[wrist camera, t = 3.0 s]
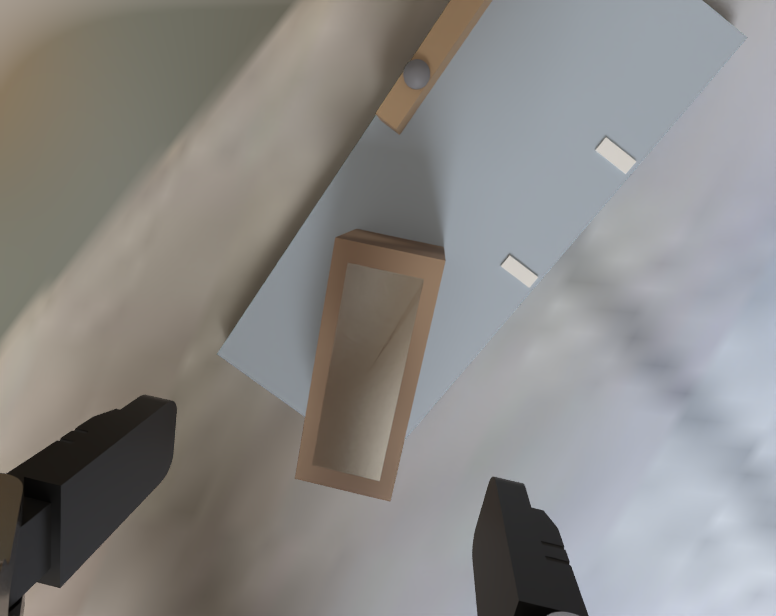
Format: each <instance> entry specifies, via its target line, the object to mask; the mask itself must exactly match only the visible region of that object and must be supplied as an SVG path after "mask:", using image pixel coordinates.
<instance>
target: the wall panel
mask: <svg viewBox="0 0 776 616" xmlns="http://www.w3.org/2000/svg"><path fill="white" fill-rule="evenodd" d="M747 38H748V37H746V36H745V35H744V34H743V33H741V32H740V31H739V30H738V29H737V28H735V27H734V26H733V25H732V24H731V23H729V22H728V21H727V20H726V19H725V18H723V17H722V16H721V15H720V14H718V13H717V12H716V11H715V10H714V9H712V8H711V7H710V6H709V5H708V4H706V3H705V2H704V1H703V0H450V2H449V3H448V5H447V6H446V8H445V9H444V11H443V12H442V14H441V15H440V17H439V18H438V20H437V21H436V23H435V24H434V26H433V27H432V29H431V30H430V32H429V33H428V35H427V36H426V38H425V39H424V41H423V42H422V44H421V45H420V47H419V48H418V50H417V51H416V53H415V54H414V56H413V57H412V59H411V60H410V62H408V63H407V65H406V66H405V68H404V71H403V73H402V74H401V76H400V77H399V79H398V80H397V82H396V83H395V85H394V86H393V88H392V89H391V91H390V92H389V94H388V95H387V97H386V98H385V100H384V101H383V103H382V104H381V106H380V107H379V109H378V110H377V112H376V113H375V114H376V116H375V117H374V119H373V120H372V122H371V123H370V125H369V126H368V128H367V129H366V131H365V132H364V134H363V135H362V137H361V138H360V140H359V141H358V143H357V144H356V146H355V147H354V149H353V150H352V152H351V153H350V155H349V156H348V158H347V159H346V161H345V162H344V164H343V165H342V167H341V168H340V170H339V171H338V173H337V174H336V176H335V177H334V179H333V180H332V182H331V183H330V185H329V186H328V188H327V189H326V191H325V192H324V194H323V195H322V197H321V198H320V200H319V201H318V203H317V204H316V206H315V207H314V209H313V210H312V212H311V213H310V215H309V216H308V218H307V219H306V221H305V222H304V224H303V225H302V227H301V228H300V230H299V231H298V233H297V234H296V236H295V237H294V239H293V240H292V242H291V243H290V245H289V246H288V248H287V249H286V251H285V252H284V254H283V255H282V257H281V258H280V260H279V261H278V263H277V264H276V266H275V267H274V269H273V270H272V272H271V273H270V275H269V276H268V278H267V279H266V281H265V282H264V284H263V285H262V287H261V288H260V290H259V291H258V293H257V294H256V296H255V297H254V299H253V300H252V302H251V303H250V305H249V306H248V308H247V309H246V311H245V312H244V314H243V315H242V317H241V318H240V320H239V321H238V323H237V324H236V326H235V327H234V329H233V330H232V332H231V333H230V335H229V337H228V338H227V340H226V341H225V343H224V344H223V346H222V347H221V349H220V350H219V352H218V353H217V355H219V356H220V357H222V358H223V359H224V360H226V361H227V362H229V363H230V364H231V365H233V366H234V367H236V368H237V369H238V370H240V371H241V372H243V373H244V374H245V375H247V376H248V377H250V378H251V379H252V380H254V381H255V382H257V383H258V384H259V385H261V386H262V387H264V388H265V389H266V390H268V391H269V392H271V393H272V394H273V395H275V396H276V397H278V398H279V399H280V400H282V401H283V402H285V403H286V404H287V405H289V406H290V407H292V408H293V409H294V410H296V411H297V412H299V413H300V414H301V415H303V416H304V417H305V415H306V409H307V403H308V397H309V391H310V385H311V379H312V373H313V367H314V361H315V355H316V349H317V343H318V337H319V331H320V325H321V319H322V313H323V307H324V301H325V295H326V289H327V283H328V277H329V271H330V265H331V259H332V253H333V247H334V241H335V237H337V236H340V235H342V234H345V233H347V232H349V231H352V230H354V229H361V230H366V231H370V232H375V233H380V234H385V235H389V236H394V237H399V238H404V239H409V240H413V241H418V242H423V243H428V244H432V245H437V246H442V247H444V251H445V259H446V261H445V266H444V270H443V274H442V279H441V283H440V287H439V292H438V296H437V301H436V305H435V309H434V314H433V318H432V322H431V327H430V331H429V335H428V340H427V344H426V348H425V353H424V357H423V361H422V366H421V370H420V374H419V379H418V383H417V388H416V392H415V396H414V401H413V405H412V409H411V414H410V418H409V422H408V427H407V431H406V435H405V439H406V438H407V437H408V436H409V434H410V433H411V432H412V431H413V430H414V429H415V427H416V426H417V425H418V424H419V423H420V422H421V420H422V419H423V418H424V417H425V416H426V415H427V413H428V412H429V411H430V410H431V409H432V407H433V406H434V405H435V404H436V403H437V402H438V400H439V399H440V398H441V397H442V396H443V395H444V393H445V392H446V391H447V390H448V389H449V388H450V386H451V385H452V384H453V383H454V382H455V380H456V379H457V378H458V377H459V376H460V375H461V373H462V372H463V371H464V370H465V369H466V368H467V366H468V365H469V364H470V363H471V362H472V361H473V359H474V358H475V357H476V356H477V355H478V353H479V352H480V351H481V350H482V349H483V348H484V346H485V345H486V344H487V343H488V342H489V341H490V339H491V338H492V337H493V336H494V335H495V333H496V332H497V331H498V330H499V329H500V328H501V326H502V325H503V324H504V323H505V322H506V321H507V319H508V318H509V317H510V316H511V315H512V314H513V312H514V311H515V310H516V309H517V308H518V306H519V305H520V304H521V303H522V302H523V301H524V299H525V298H526V297H527V296H528V295H529V294H530V292H531V291H532V290H533V289H534V288H535V287H536V285H537V284H538V283H539V282H540V281H541V279H542V278H543V277H544V276H545V275H546V274H547V272H548V271H549V270H550V269H551V268H552V267H553V265H554V264H555V263H556V262H557V261H558V260H559V258H560V257H561V256H562V255H563V254H564V252H565V251H566V250H567V249H568V248H569V247H570V245H571V244H572V243H573V242H574V241H575V240H576V238H577V237H578V236H579V235H580V234H581V233H582V231H583V230H584V229H585V228H586V227H587V225H588V224H589V223H590V222H591V221H592V220H593V218H594V217H595V216H596V215H597V214H598V213H599V211H600V210H601V209H602V208H603V207H604V206H605V204H606V203H607V202H608V201H609V200H610V198H611V197H612V196H613V195H614V194H615V193H616V191H617V190H618V189H619V188H620V187H621V186H622V184H623V183H624V182H625V181H626V180H627V179H628V177H629V176H630V175H631V174H632V173H633V171H634V170H635V169H636V168H637V167H638V166H639V164H640V163H641V162H642V161H643V160H644V159H645V157H646V156H647V155H648V154H649V153H650V152H651V150H652V149H653V148H654V147H655V146H656V144H657V143H658V142H659V141H660V140H661V139H662V137H663V136H664V135H665V134H666V133H667V132H668V130H669V129H670V128H671V127H672V126H673V125H674V123H675V122H676V121H677V120H678V119H679V117H680V116H681V115H682V114H683V113H684V112H685V110H686V109H687V108H688V107H689V106H690V105H691V103H692V102H693V101H694V100H695V99H696V98H697V96H698V95H699V94H700V93H701V92H702V90H703V89H704V88H705V87H706V86H707V85H708V83H709V82H710V81H711V80H712V79H713V78H714V76H715V75H716V74H717V73H718V72H719V71H720V69H721V68H722V67H723V66H724V65H725V63H726V62H727V61H728V60H729V59H730V58H731V56H732V55H733V54H734V53H735V52H736V51H737V49H738V48H739V47H740V46H741V45H742V44H743V42H744V41H745V40H746V39H747Z"/></svg>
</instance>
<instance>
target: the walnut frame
mask: <svg viewBox="0 0 776 616" xmlns="http://www.w3.org/2000/svg"><path fill="white" fill-rule="evenodd" d="M445 261H446V259H445V251H444V247H442V246H437V245H432V244H428V243H423V242H418V241H413V240H409V239H404V238H399V237H394V236H389V235H385V234H380V233H375V232H370V231H366V230H361V229H354V230H352V231H349V232H347V233H345V234H342V235H340V236H337V237H335V241H334V247H333V253H332V259H331V265H330V271H329V277H328V283H327V289H326V295H325V301H324V307H323V313H322V319H321V325H320V331H319V337H318V343H317V349H316V355H315V361H314V367H313V373H312V379H311V385H310V391H309V397H308V403H307V409H306V415H305V421H304V427H303V433H302V439H301V445H300V451H299V457H298V463H297V469H296V475H295V479H299V480H303V481H307V482H311V483H315V484H319V485H324V486H328V487H332V488H336V489H340V490H344V491H349V492H353V493H357V494H361V495H365V496H369V497H374V498H378V499H382V500H386V501H391V496H392V492H393V488H394V483H395V479H396V475H397V470H398V466H399V462H400V457H401V453H402V448H403V444H404V440H405V435H406V431H407V427H408V422H409V418H410V414H411V409H412V405H413V401H414V396H415V392H416V388H417V383H418V379H419V374H420V370H421V366H422V361H423V357H424V353H425V348H426V344H427V340H428V335H429V331H430V327H431V322H432V318H433V314H434V309H435V305H436V301H437V296H438V292H439V287H440V283H441V279H442V274H443V270H444V266H445Z"/></svg>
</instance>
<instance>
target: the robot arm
mask: <svg viewBox="0 0 776 616" xmlns="http://www.w3.org/2000/svg"><path fill="white" fill-rule="evenodd" d="M176 414H177V407H176V404H175V402H174V401H170V400H166V399H162V398H157V397H153V396H149V395H141V396H140V397H138V398H137V399H135V400H134V401H132V402H131V403H130V404H128V405H127V406H125V407H124V408H122V409H121V410H118V409H114V410H111V411H109V412H106V413H103V414H100V415H97V416H94V417H92V418H91V419H89V420H88V421H86V422H84V423H83V424H81V425H80V426H78V427H77V428H75V431H71V432H69V433H68V434H66V435H65V436H63V437H62V438H61V439H60V441H56V442H54V443H52V444H51V445H49V446H48V447H46V448H45V449H43V450H42V451H40V452H39V453H37V454H36V455H34V456H33V457H31V458H30V459H28V460H27V461H25V462H24V463H22V464H20V465H19V466H17V467H16V468H14V469H13V470H11V471H10V472H8V473H7V474H4V473H0V616H23V613H24V606H25V593H26V592H27V591H28V590H29V589H30V588H31V587H32V586H33V585H34V584H35V583H36V582H38V583H42V584H46V585H50V586H54V587H58V588H61V587H62V586H63V584H64V583H65V582H66V581H67V580H68V579H69V578H70V577H71V576H72V575H73V574H74V573H75V572H76V571H77V570H78V569H79V568H80V567H81V566H82V564H83V563H84V562H85V561H86V560H87V559H88V558H89V557H90V556H91V555H92V554H93V553H94V552H95V551H96V550H97V549H98V548H99V547H100V546H101V545H102V543H103V542H104V541H105V540H106V539H107V538H108V537H109V536H110V535H111V534H112V533H113V532H114V531H115V530H116V529H117V528H118V527H119V526H120V525H121V523H122V522H123V521H124V520H125V519H126V518H127V517H128V516H129V515H130V514H131V513H132V512H133V511H134V510H135V509H136V508H137V507H138V506H139V505H140V504H141V502H142V501H143V500H144V499H145V498H146V497H147V496H148V495H149V494H150V493H151V492H152V491H153V490H154V489H155V488H156V487H157V486H158V485H159V484H160V483H161V481H162V480H163V479H164V477H165V476H166V474H167V472H168V470H169V468H170V465H171V462H172V458H173V450H174V438H175V426H176ZM472 559H473V570H474V581H475V592H476V603H477V614H478V616H588V613H587V610H586V607H585V604H584V602H583V599H582V596H581V593H580V590H579V587H578V584H577V582H576V579H575V576H574V573H573V570H572V567H571V566H570V565H569V559H568V556H567V553H566V550H564V545H563V542H562V539H561V536H560V533H559V530H558V528H557V527H556V525H555V524H554V523H553V522H552V520H551V519H550V518H549V517H548V516H547V514H546V513H545V512H544V511H543V510H539V509H535V508H531V505H530V502H529V498H528V495H527V491H526V488H525V485H524V484H523V483H519V482H514V481H510V480H506V479H501V478H497V477H492V478H491V479H490V481H489V484H488V487H487V491H486V494H485V498H484V501H483V505H482V508H481V512H480V515H479V518H478V522H477V525H476V529H475V533H474V539H473V549H472Z"/></svg>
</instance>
